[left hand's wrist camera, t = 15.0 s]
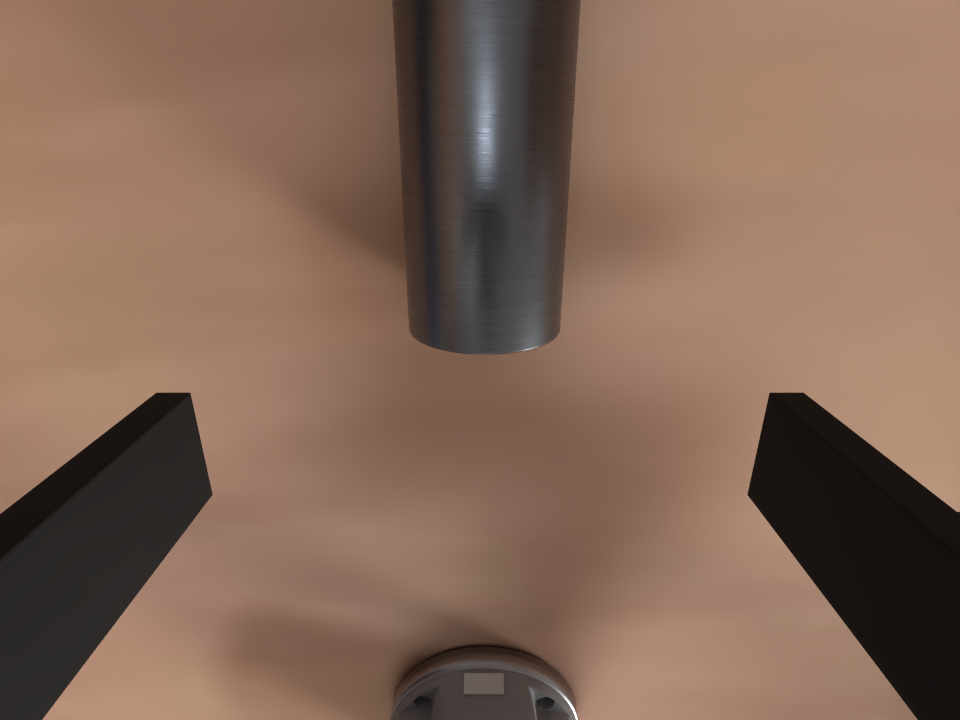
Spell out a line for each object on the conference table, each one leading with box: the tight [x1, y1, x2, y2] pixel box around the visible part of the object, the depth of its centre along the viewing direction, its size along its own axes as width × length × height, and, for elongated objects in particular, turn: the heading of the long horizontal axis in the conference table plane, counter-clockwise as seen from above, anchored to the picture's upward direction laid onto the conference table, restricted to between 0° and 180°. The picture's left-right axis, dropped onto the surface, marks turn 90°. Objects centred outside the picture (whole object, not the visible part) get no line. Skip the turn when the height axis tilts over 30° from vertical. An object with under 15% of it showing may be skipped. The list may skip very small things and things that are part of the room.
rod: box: [393, 0, 580, 355], centre depth 23 cm, size 27×8×8 cm, turn 0°
